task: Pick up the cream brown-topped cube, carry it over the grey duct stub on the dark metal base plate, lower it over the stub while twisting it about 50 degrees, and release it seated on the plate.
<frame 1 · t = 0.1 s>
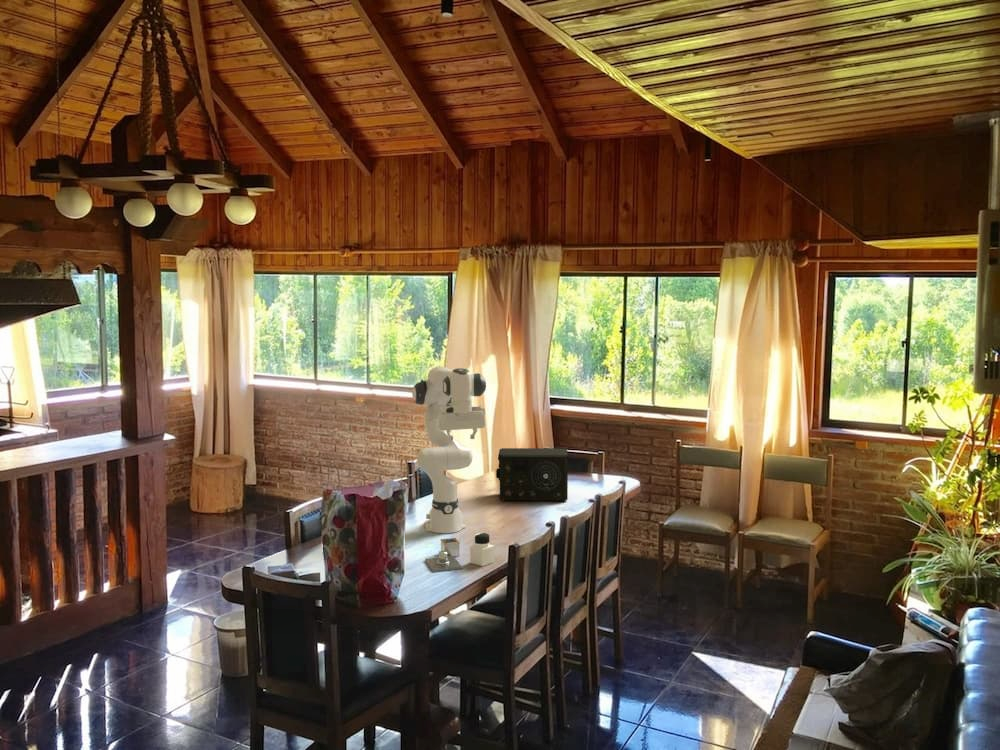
hand: (461, 439, 369), 48 cm above the table, fingers open, 8 cm apart
duct base: (443, 565, 354), on the table
vintage radio: (531, 499, 458), on the table
cream brown-topped cube: (450, 554, 367), on the table
medicine bottle: (482, 563, 357), on the table
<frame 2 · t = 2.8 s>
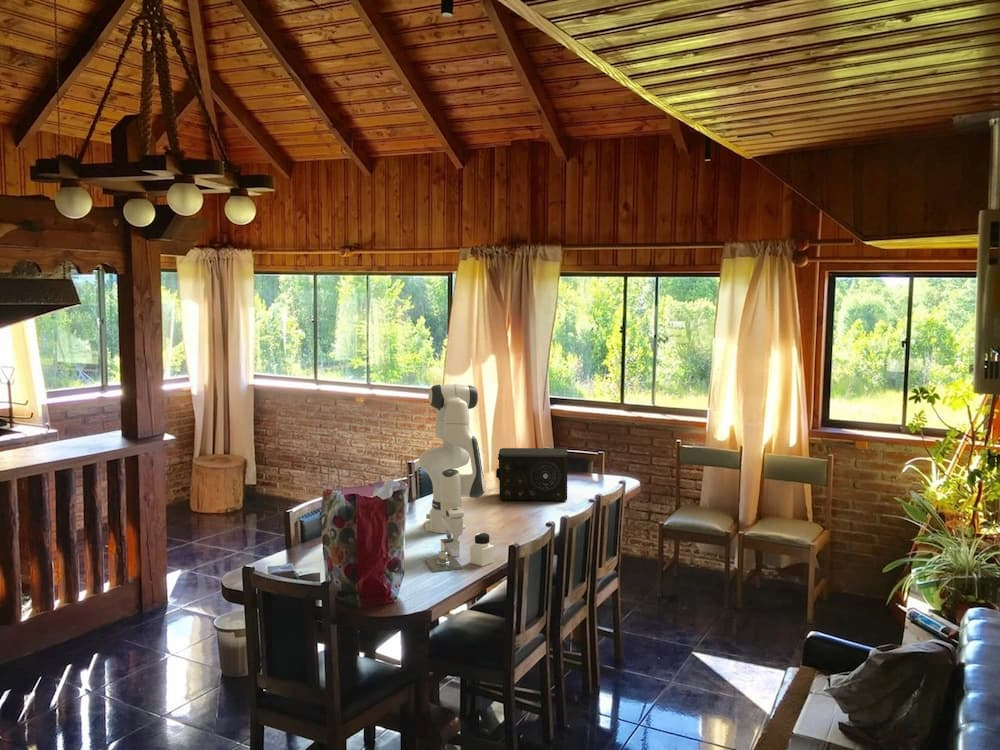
hand: (452, 541, 366), 6 cm above the table, fingers open, 8 cm apart
cream brown-topped cube: (450, 554, 367), on the table, touching gripper
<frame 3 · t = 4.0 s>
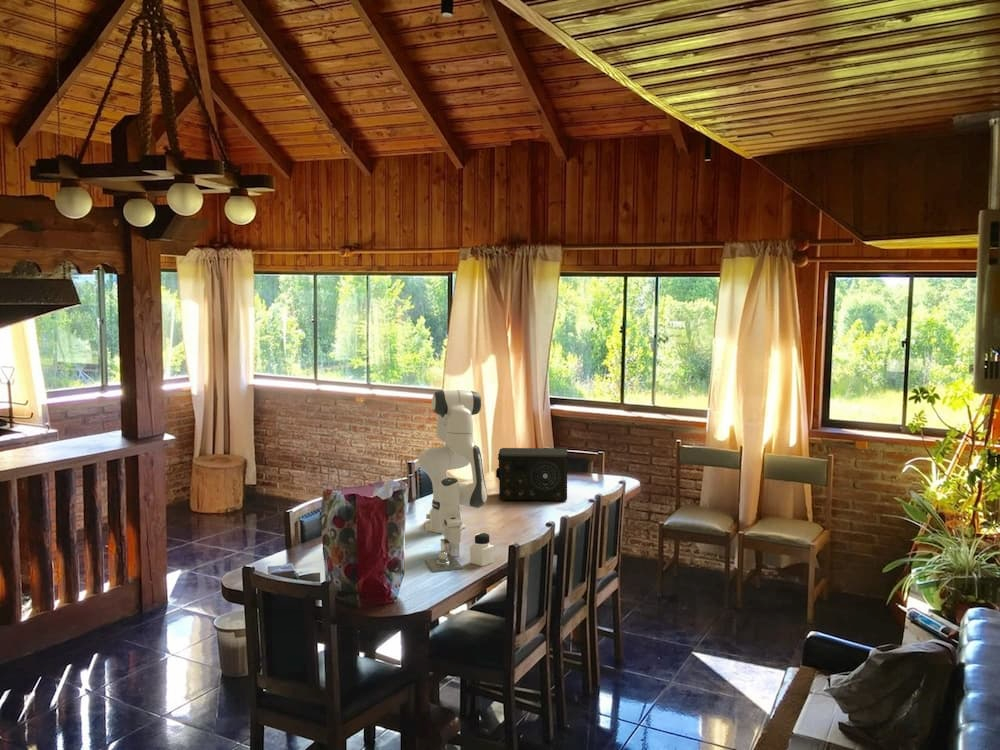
hand: (450, 549, 367), 2 cm above the table, fingers closed on cream brown-topped cube, 6 cm apart
cream brown-topped cube: (450, 554, 367), on the table, touching gripper
everything else where it was.
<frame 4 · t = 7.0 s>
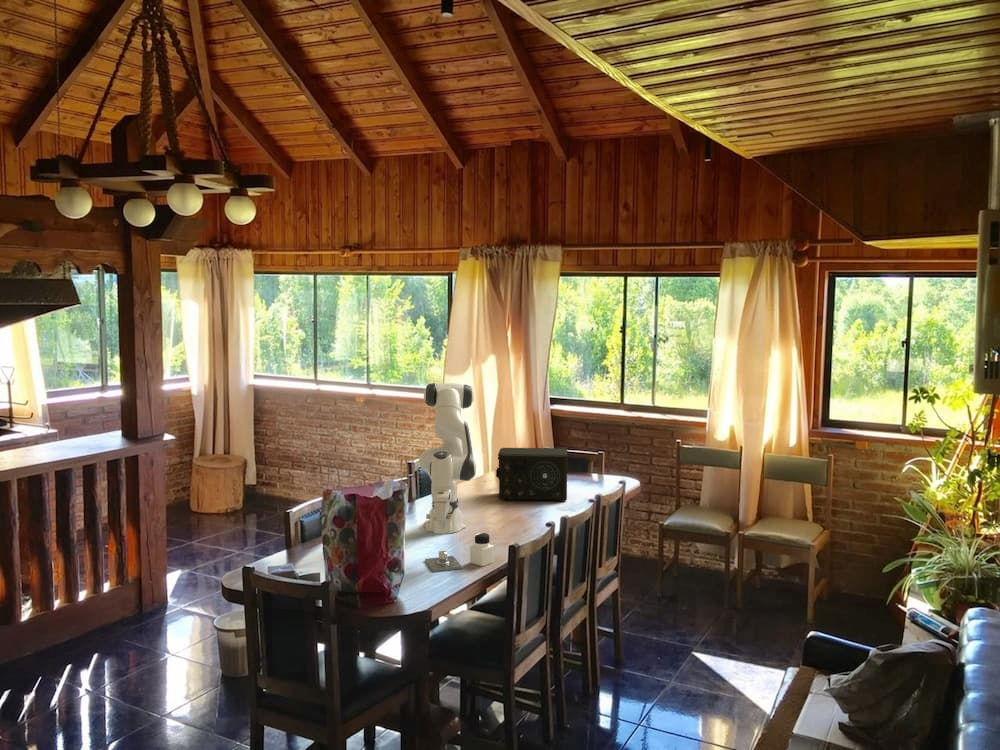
hand: (443, 525, 352), 16 cm above the table, fingers closed on cream brown-topped cube, 6 cm apart
cream brown-topped cube: (443, 531, 352), point 14 cm above the table, touching gripper
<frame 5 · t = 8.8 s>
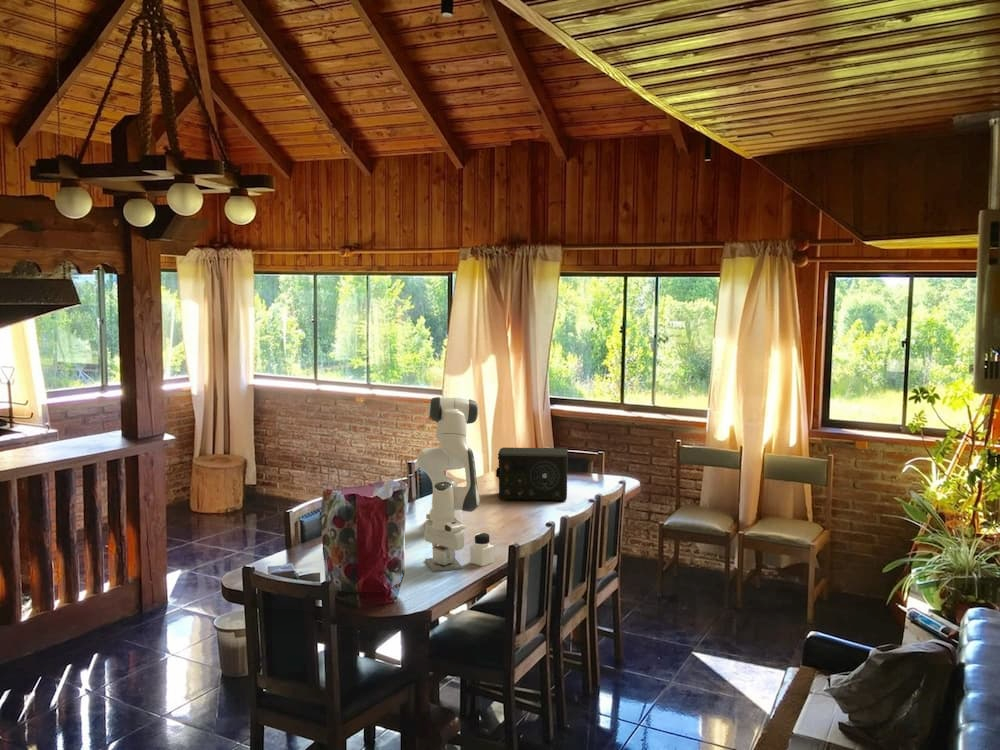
hand: (443, 556, 354), 4 cm above the table, fingers closed on cream brown-topped cube, 6 cm apart
cream brown-topped cube: (444, 561, 354), point 1 cm above the table, touching gripper
when the fingers open (4 cm above the table, at t = 9.9 s): cream brown-topped cube stays where it is, resting on duct base.
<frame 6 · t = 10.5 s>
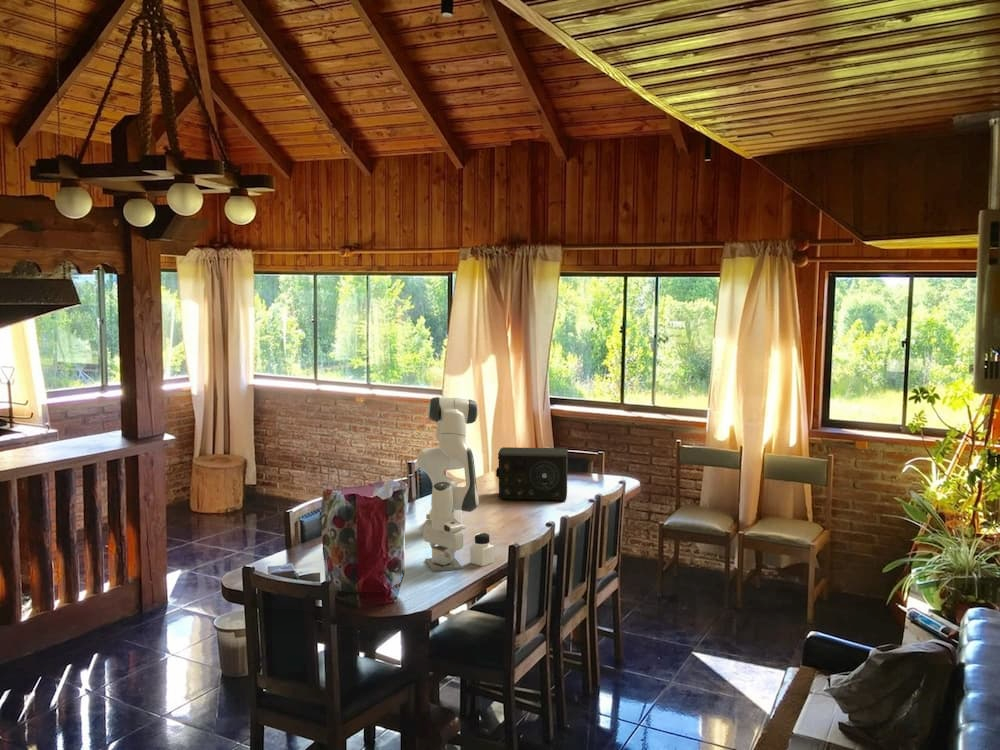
hand: (443, 556, 354), 4 cm above the table, fingers open, 8 cm apart
cream brown-topped cube: (443, 561, 354), point 1 cm above the table, touching duct base
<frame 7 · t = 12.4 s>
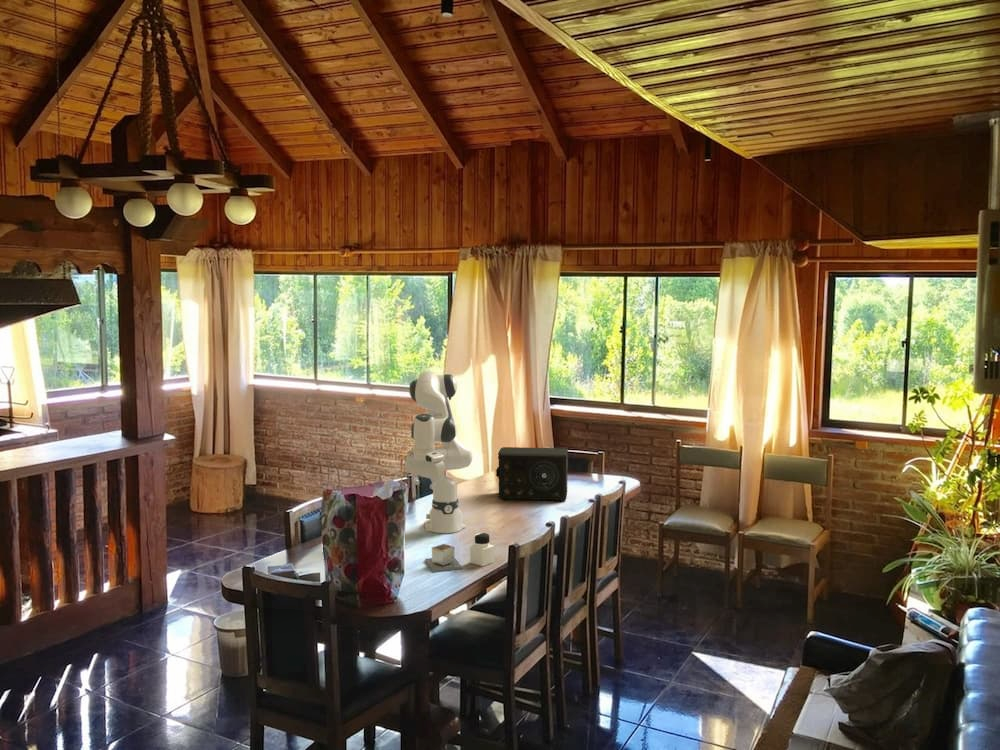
hand: (424, 486, 359), 30 cm above the table, fingers open, 8 cm apart
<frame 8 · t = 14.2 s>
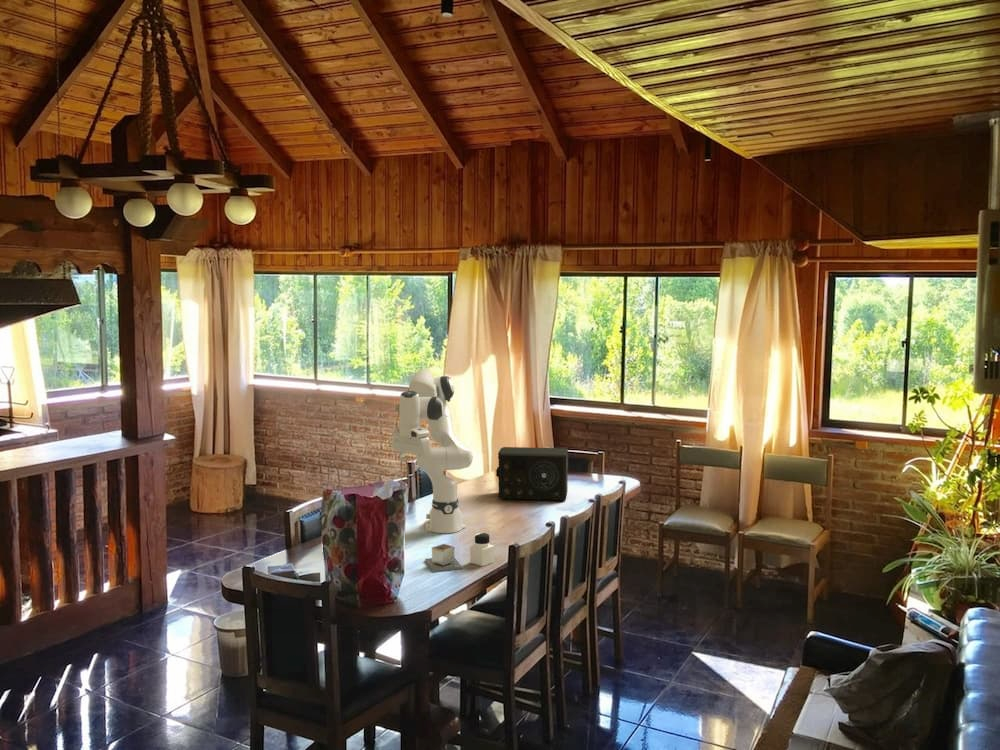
hand: (410, 463, 364), 39 cm above the table, fingers open, 8 cm apart
at the end: cream brown-topped cube 0.1 cm off-centre on the duct base, point 1.4 cm above the duct base's base; cream brown-topped cube tilted 0°; the gripper is holding nothing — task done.
